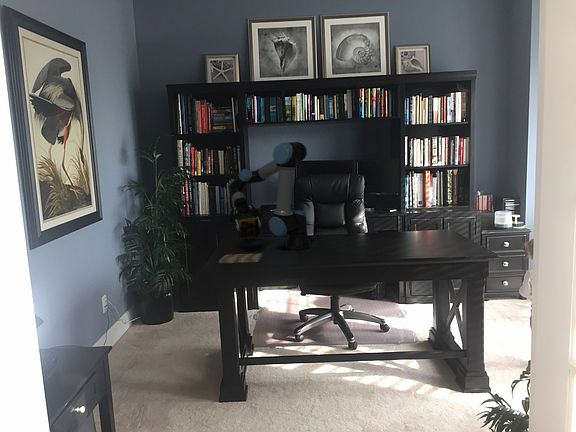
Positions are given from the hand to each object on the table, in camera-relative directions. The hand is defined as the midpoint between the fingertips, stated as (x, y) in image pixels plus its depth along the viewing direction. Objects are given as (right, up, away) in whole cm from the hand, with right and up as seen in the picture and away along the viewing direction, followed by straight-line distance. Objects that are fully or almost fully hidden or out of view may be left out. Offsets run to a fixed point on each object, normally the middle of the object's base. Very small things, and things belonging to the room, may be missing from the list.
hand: (249, 227), depth 295 cm
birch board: (-4, -18, -11) cm, 21 cm away
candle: (0, -5, 0) cm, 5 cm away
